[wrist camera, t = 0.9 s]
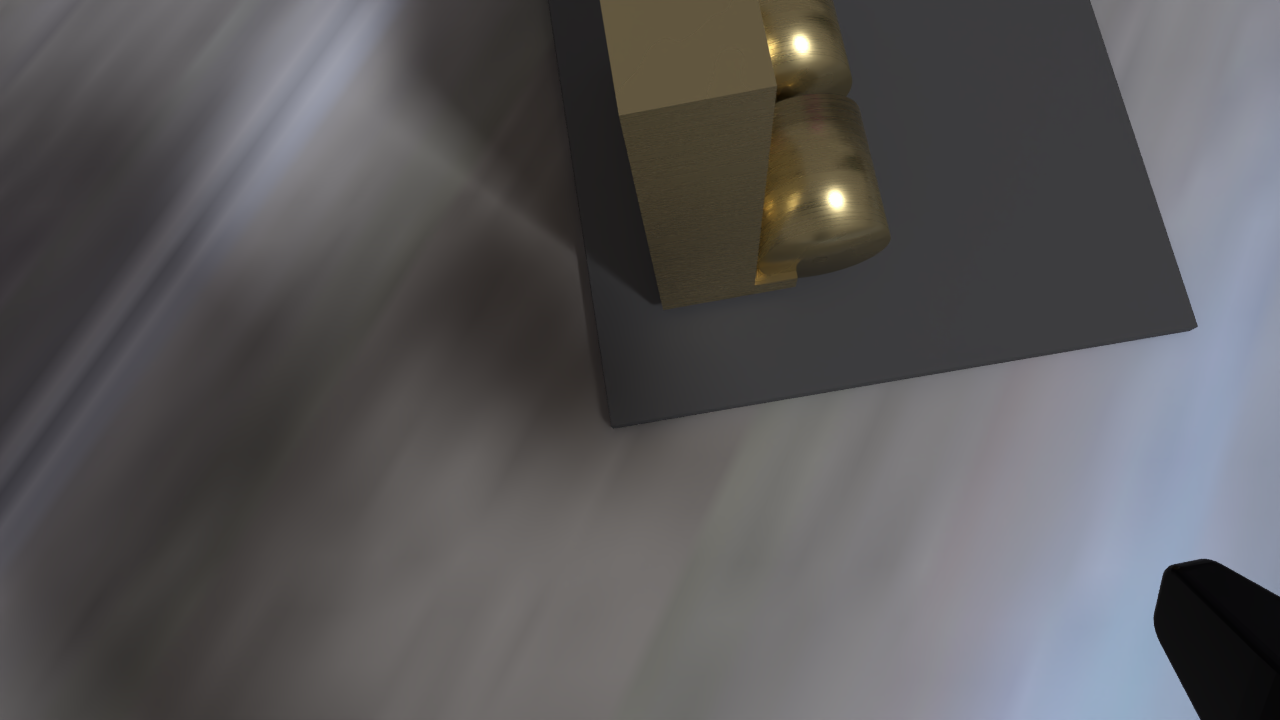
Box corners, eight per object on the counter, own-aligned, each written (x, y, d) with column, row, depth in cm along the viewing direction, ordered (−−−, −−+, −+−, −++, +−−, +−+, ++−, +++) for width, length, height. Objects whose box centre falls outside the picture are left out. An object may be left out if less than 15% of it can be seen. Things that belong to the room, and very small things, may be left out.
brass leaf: (879, 272, 22) (999, 44, 13) (662, 310, 23) (619, 115, 13) (817, 7, 24) (879, -363, 15) (618, 46, 25) (551, -293, 15)
